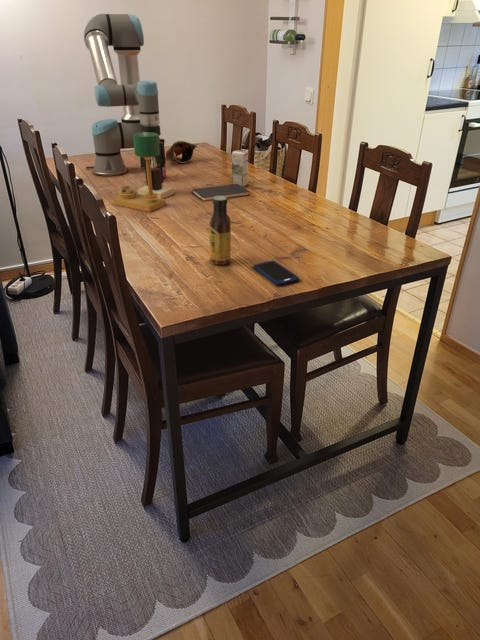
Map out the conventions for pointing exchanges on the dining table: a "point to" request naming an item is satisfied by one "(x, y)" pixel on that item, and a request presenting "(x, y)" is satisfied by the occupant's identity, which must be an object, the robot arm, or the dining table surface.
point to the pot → (181, 151)
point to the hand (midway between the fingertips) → (155, 184)
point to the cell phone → (276, 272)
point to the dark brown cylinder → (156, 178)
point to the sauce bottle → (220, 232)
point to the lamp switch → (126, 190)
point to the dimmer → (157, 191)
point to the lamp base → (138, 201)
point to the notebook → (220, 191)
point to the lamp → (147, 154)
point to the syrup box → (240, 167)
